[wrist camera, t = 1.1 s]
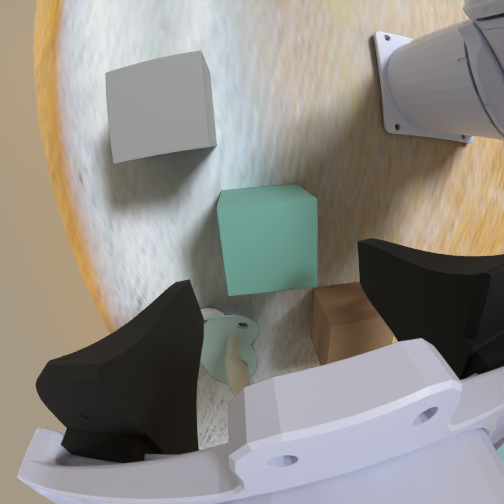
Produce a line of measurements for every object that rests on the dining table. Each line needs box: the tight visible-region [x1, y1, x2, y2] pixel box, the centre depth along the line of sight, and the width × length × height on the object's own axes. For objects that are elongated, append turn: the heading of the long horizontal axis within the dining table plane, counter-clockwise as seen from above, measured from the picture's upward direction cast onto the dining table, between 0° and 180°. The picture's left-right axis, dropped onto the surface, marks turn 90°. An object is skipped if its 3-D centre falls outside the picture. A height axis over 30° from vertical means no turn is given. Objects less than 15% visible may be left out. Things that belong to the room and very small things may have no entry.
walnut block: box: [311, 282, 394, 365], centre depth 20 cm, size 5×5×5 cm
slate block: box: [106, 51, 217, 164], centre depth 14 cm, size 5×5×5 cm
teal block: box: [217, 184, 318, 296], centre depth 17 cm, size 5×5×5 cm
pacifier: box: [200, 308, 259, 396], centre depth 20 cm, size 7×6×6 cm
